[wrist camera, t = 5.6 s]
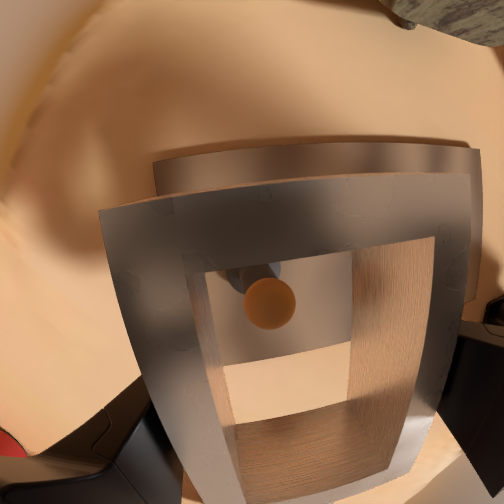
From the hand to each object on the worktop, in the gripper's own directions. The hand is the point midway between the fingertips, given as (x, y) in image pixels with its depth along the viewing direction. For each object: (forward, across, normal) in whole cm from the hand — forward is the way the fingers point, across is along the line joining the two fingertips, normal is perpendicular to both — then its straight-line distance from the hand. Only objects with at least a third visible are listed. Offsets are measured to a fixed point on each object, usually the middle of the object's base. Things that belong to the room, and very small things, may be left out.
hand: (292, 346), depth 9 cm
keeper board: (+11, -8, 0) cm, 13 cm away
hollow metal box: (+1, 0, 0) cm, 1 cm away
